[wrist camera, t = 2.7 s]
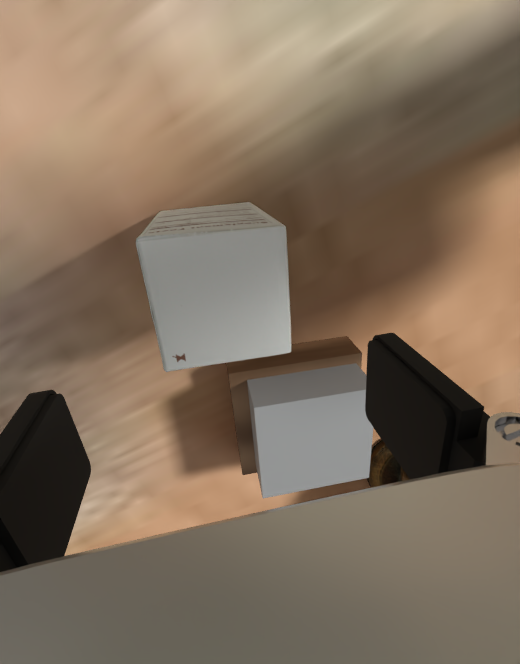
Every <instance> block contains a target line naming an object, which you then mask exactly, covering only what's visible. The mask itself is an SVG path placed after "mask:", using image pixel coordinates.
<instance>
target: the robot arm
mask: <svg viewBox="0 0 520 664" xmlns="http://www.w3.org/2000/svg"><path fill="white" fill-rule="evenodd" d="M483 410H484V406H482V405H481V404H480V403H479V402H478V401H476V400H475V399H474V398H473V397H471V396H470V395H469V394H468V393H467V392H465V391H464V390H463V389H462V388H460V387H459V386H458V385H457V384H456V383H454V382H453V381H452V380H451V379H449V378H448V377H447V376H446V375H445V374H443V373H442V372H441V371H440V370H438V369H437V368H436V367H435V366H434V365H432V364H431V363H430V362H429V361H427V360H426V359H425V358H424V357H423V356H421V355H420V354H419V353H418V352H416V351H415V350H414V349H413V348H412V347H410V346H409V345H408V344H407V343H405V342H404V341H403V340H402V339H401V338H399V337H398V336H397V335H396V334H394V333H387V334H381V335H375V336H374V338H373V340H372V341H369V343H368V356H367V378H366V400H365V412H366V416H367V418H368V420H369V422H370V423H371V425H372V426H373V427H374V429H375V430H376V432H377V433H378V435H379V436H380V437H381V439H382V440H383V442H384V443H385V444H386V446H387V447H388V449H389V450H390V452H391V453H392V454H393V456H394V457H395V459H396V460H397V462H398V463H399V464H400V466H401V467H402V469H403V470H404V472H405V473H406V474H407V476H408V477H409V479H410V480H405V481H400V482H395V483H391V484H386V485H382V486H377V487H372V488H368V489H363V490H358V491H354V492H349V493H344V494H340V495H335V496H331V497H326V498H321V499H317V500H312V501H307V502H303V503H298V504H294V505H289V506H285V507H280V508H276V509H271V510H267V511H262V512H258V513H253V514H248V515H244V516H239V517H235V518H230V519H226V520H222V521H217V522H213V523H208V524H204V525H199V526H195V527H190V528H186V529H181V530H177V531H172V532H168V533H164V534H159V535H155V536H151V537H146V538H142V539H137V540H133V541H129V542H124V543H120V544H115V545H111V546H107V547H102V548H98V549H93V550H89V551H85V552H80V553H76V554H72V555H68V556H64V555H65V552H66V549H67V545H68V542H69V539H70V536H71V533H72V530H73V527H74V524H75V521H76V517H77V514H78V511H79V508H80V505H81V502H82V499H83V496H84V493H85V489H86V486H87V483H88V480H89V477H90V473H91V466H90V462H89V459H88V456H87V454H86V452H85V449H84V447H83V444H82V442H81V439H80V437H79V434H78V432H77V429H76V427H75V424H74V422H73V419H72V417H71V414H70V412H69V409H68V407H67V404H66V402H65V399H64V397H63V395H62V394H56V392H55V391H53V390H48V391H42V392H36V393H31V394H29V395H28V396H27V397H26V399H25V400H24V402H23V403H22V404H21V406H20V407H19V409H18V410H17V412H16V413H15V414H14V416H13V417H12V419H11V420H10V422H9V423H8V424H7V426H6V427H5V429H4V430H3V431H2V433H1V434H0V664H520V414H519V413H512V412H506V413H498V414H495V415H493V416H491V417H490V416H489V415H487V414H486V413H485V412H484V411H483Z"/></svg>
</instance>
